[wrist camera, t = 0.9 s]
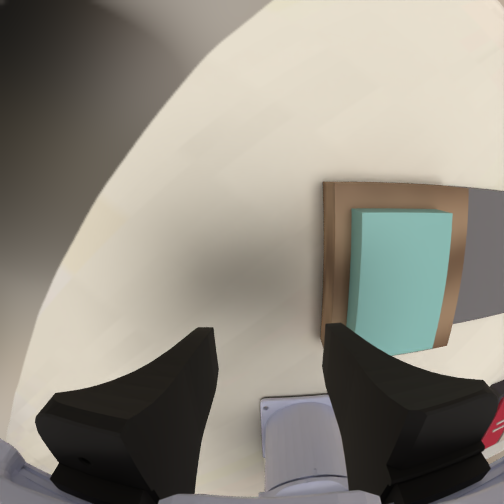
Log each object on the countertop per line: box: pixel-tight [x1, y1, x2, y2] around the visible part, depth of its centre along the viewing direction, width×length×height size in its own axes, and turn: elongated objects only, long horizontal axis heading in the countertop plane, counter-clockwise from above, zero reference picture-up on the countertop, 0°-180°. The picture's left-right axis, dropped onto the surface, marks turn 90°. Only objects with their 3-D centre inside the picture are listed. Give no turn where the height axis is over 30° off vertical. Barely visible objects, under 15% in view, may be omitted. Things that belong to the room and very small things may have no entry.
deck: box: [321, 182, 469, 356], centre depth 19 cm, size 12×10×4 cm
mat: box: [452, 186, 504, 324], centre depth 20 cm, size 12×10×1 cm
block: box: [346, 208, 453, 356], centre depth 16 cm, size 9×6×2 cm, turn 3°
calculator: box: [481, 380, 504, 459], centre depth 24 cm, size 11×4×15 cm
